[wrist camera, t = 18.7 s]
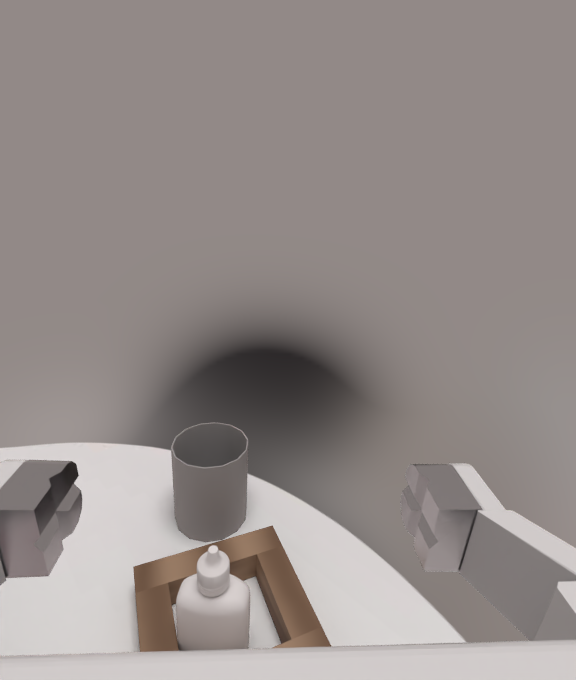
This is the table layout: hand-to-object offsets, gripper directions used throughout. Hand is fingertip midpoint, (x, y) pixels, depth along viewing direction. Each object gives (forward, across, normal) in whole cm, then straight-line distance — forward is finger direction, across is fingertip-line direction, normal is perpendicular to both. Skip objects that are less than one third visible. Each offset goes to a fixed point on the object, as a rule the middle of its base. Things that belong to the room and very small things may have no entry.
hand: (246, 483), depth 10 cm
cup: (+29, +5, +30) cm, 42 cm away
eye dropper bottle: (+14, +3, +30) cm, 33 cm away
